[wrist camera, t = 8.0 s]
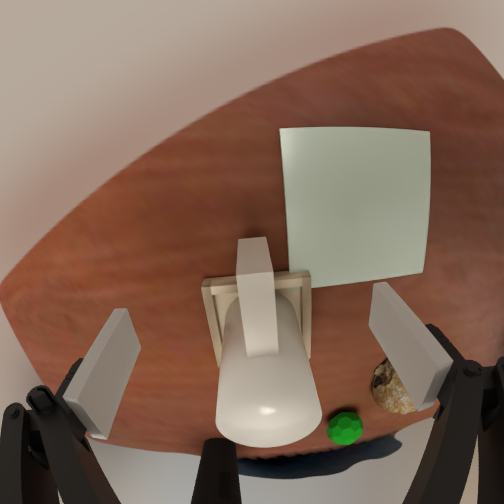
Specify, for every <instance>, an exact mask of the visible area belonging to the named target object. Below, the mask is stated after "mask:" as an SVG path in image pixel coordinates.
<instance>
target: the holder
mask: <svg viewBox="0 0 504 504" xmlns="http://www.w3.org/2000/svg"><path fill="white" fill-rule="evenodd" d="M273 274H274V288H275V292H277V293H280V294H282V295H283V296H285V297H286V298H287V299H288V300H289V301H290V302H291V303H292V305H293V307H294V309H295V312H296V316H297V319H298V323H299V327H300V330H301V334H302V338H303V341H304V345H305V349H306V352H307V356H308V359H310V352H311V275H310V273H309V271H308V272H299V273H289V271H280V272H273ZM290 287H300V289H298V290H290ZM201 289H202V294H203V299H204V304H205V309H206V314H207V319H208V324H209V328H210V333H211V338H212V342H213V347H214V351H215V355H216V360H217V364H218V367H220V365H221V354H222V344H223V334H224V324H225V315H226V311H227V309H228V307H229V305H230V304H231V303H232V302H233V301H234V300H235V299H236V298H237V297H239V294H238V287H237V280H236V276H228V277H217V278H206V279H203V283H202V286H201Z"/></svg>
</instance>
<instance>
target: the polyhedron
mask: <svg viewBox="0 0 504 504" xmlns="http://www.w3.org/2000/svg"><path fill="white" fill-rule="evenodd" d="M362 431H363V423H362V419H361V418H360V417H359V416H357V415H356V414H355V413H350V412H341V413H339V414H338V415H337V416H335V417H334V418H333V419H331V420H330V423H329V425H328V428H327V434H328V437H329V438H330V439H331V440H332V441H333V442H335V443H336V444H342V445H349V444H351V443H353V442H354V441H356V440H357V439H358V438H359V437H360V436H361V433H362Z"/></svg>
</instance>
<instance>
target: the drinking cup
mask: <svg viewBox="0 0 504 504" xmlns="http://www.w3.org/2000/svg"><path fill="white" fill-rule="evenodd" d="M191 504H242V502H241V493H240V484H239V475H238V466H237V456H236V446H235V444H234V443H233V442H231V441H229V440H226V439H221V438H214V439H209V440H207V441H205V443H204V446H203V451H202V455H201V460H200V464H199V469H198V474H197V478H196V483H195V487H194V491H193V496H192V500H191Z"/></svg>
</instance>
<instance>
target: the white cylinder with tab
mask: <svg viewBox="0 0 504 504" xmlns="http://www.w3.org/2000/svg"><path fill="white" fill-rule="evenodd" d="M236 280H237V287H238V294H239V297H237V298H236V299H235V300H234V301H233V302H232V303H231V304H230V305H229V307H228V309H227V311H226V315H225V324H224V334H223V344H222V354H221V365H220V376H219V387H218V398H217V410H216V426H217V428H218V430H219V431H220V432H221V433H222V434H223V435H224V436H225V437H226V438H228V439H230V440H231V441H233V442H236V443H239V444H242V445H246V446H251V447H276V446H282V445H286V444H290V443H293V442H296V441H298V440H300V439H302V438H304V437H306V436H307V435H309V434H310V433H311V432H312V431H314V430H315V429H316V427H317V426H318V425H319V423H320V421H321V418H322V410H321V406H320V402H319V398H318V394H317V391H316V387H315V383H314V379H313V375H312V371H311V368H310V364H309V360H308V356H307V352H306V349H305V345H304V341H303V338H302V334H301V330H300V327H299V323H298V319H297V316H296V312H295V309H294V307H293V305H292V303H291V302H290V301H289V300H288V299H287V298H286V297H285V296H283V295H282V294H280V293H277V292H275V288H274V274H273V268H272V263H271V258H270V254H269V249H268V244H267V240H266V237H256V238H246V239H238V251H237V266H236Z"/></svg>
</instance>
